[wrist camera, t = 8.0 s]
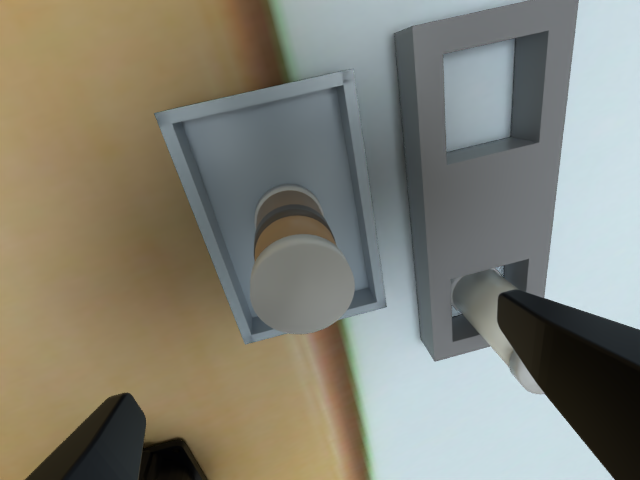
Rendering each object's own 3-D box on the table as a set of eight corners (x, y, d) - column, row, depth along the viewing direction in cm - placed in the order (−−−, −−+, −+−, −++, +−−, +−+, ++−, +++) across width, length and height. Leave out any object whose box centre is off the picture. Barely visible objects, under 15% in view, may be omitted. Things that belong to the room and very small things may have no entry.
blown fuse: (327, 237, 18) (361, 319, 12) (265, 253, 18) (266, 344, 11) (314, 176, 16) (345, 232, 10) (246, 192, 16) (235, 260, 10)
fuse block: (518, 313, 23) (540, 332, 21) (421, 339, 23) (434, 361, 21) (542, 1, 15) (579, -11, 13) (394, 33, 15) (412, 26, 13)
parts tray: (376, 288, 20) (386, 306, 19) (246, 322, 20) (245, 344, 18) (343, 70, 15) (353, 68, 13) (166, 110, 15) (154, 113, 13)
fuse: (494, 298, 22) (586, 382, 16) (445, 311, 22) (518, 401, 16) (495, 254, 21) (597, 327, 14) (443, 267, 20) (523, 348, 14)
